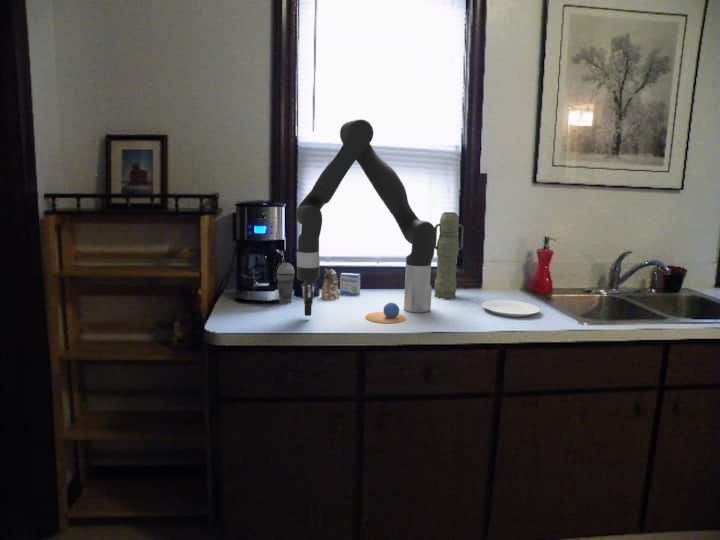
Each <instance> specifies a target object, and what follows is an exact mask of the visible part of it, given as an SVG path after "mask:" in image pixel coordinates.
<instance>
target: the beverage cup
mask: <svg viewBox="0 0 720 540" xmlns="http://www.w3.org/2000/svg"><path fill="white" fill-rule="evenodd" d="M282 255H283V258H282V260H283V259H284V260H285V257H284V250H281V256H282ZM281 263H282V264H281ZM281 263H280V264H281V265H280V264H279V265H280V266H279V265H278V266H279V267H278V266H277V267H278V269H277V268H276V269H277V273H276V272H275V275H276V274H277V277H276V280H277V279H278V283H277V294H278V293H279V295H278V300H279V301H278V302H280V303H279V304H281V303H282V305H288V303H290V304H292V299H293V290H294V289H293V288H294V279H295V275H296V272H295V268H294V266H293V265H292V264H291V263H289V262H286V261H284V263H283V262H281Z"/></svg>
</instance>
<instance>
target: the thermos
mask: <svg viewBox="0 0 720 540" xmlns="http://www.w3.org/2000/svg"><path fill="white" fill-rule="evenodd" d="M459 221H460V220H459V215H458V213H456V212H451V211H450V212H448V211H446V212H442V213H441V216H440V219H439V223H437V224H436V225H434V228H435V233H436V239H435V249H434V250H436V256H437V261H436V277H435V280H434V298H436V297H438V298H437V299H440V298H445V299H444V300H452V299H451V298H454V299H456V292H457V279H456V276H457V262H458V261H457V260H458V257H459V252H460V251H461V250H462V251H463V246H464V230H465V227H464V226H463V225H462V224H460V222H459ZM438 227H439V235H438ZM459 228H460V238H459V236H458V232H459ZM437 235H438V236H437ZM437 237H438V239H437Z"/></svg>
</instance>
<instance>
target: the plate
mask: <svg viewBox="0 0 720 540" xmlns="http://www.w3.org/2000/svg"><path fill="white" fill-rule="evenodd" d="M481 306H482V307H483V308H485V309H487V310H488V311H490V312H492V313H493V314H496V315H498V316H503V315H504V317H510V316H511V317H513V318H515V317H516V318H519V317H520V318H521V317H522V318H523V317H527V316H531V315H534V314H537V313H539V312H540V310H541V309H540V308H539V307H538V306H536V305H535V304H531V303H528V302H523V301H517V300H508V299H493V300H485V301H484V302H482V303H481ZM492 308H495V309H496V310H497V311H498V310H499V311H500V312H497V311H493V310H491V309H492ZM501 311H502V312H501Z"/></svg>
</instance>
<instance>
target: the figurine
mask: <svg viewBox="0 0 720 540" xmlns="http://www.w3.org/2000/svg"><path fill="white" fill-rule="evenodd" d="M324 272H325V273H324V274H323V284H322V288H321V295H320V296H321V300H324V299H325V300H324V301H337V300H336V299H338V300H340V290H339V277H338V276H337V275H338V274H337V273H336V271H335V270H334V269H333V268H330V269H328V268H325V269H324Z"/></svg>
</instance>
